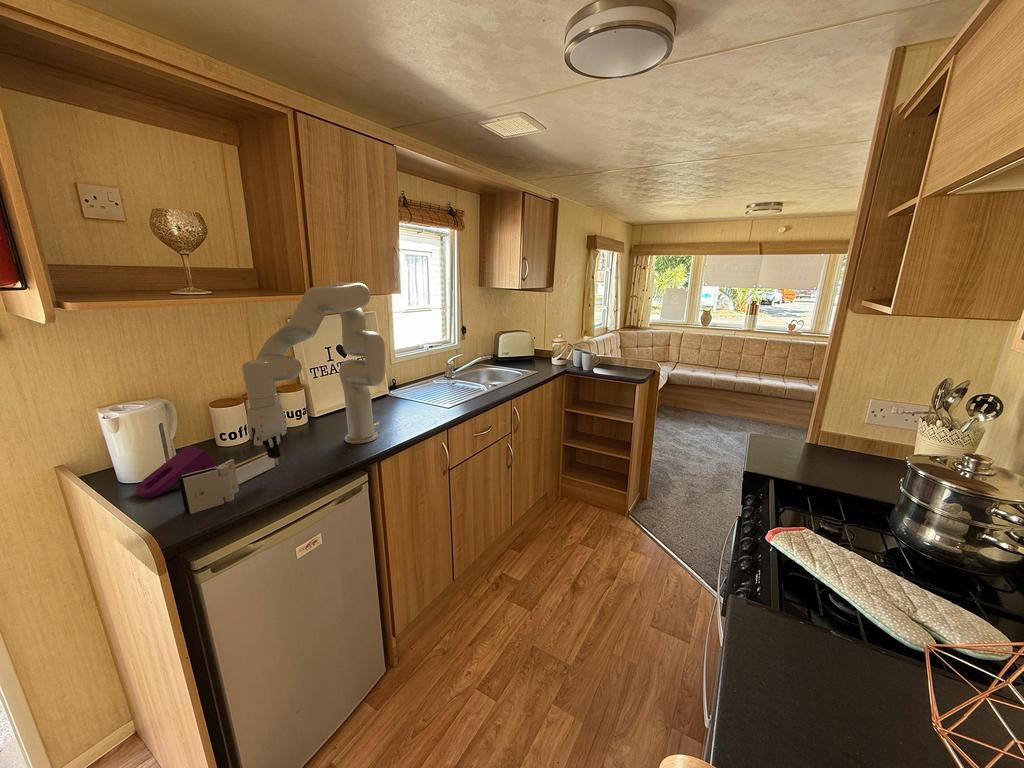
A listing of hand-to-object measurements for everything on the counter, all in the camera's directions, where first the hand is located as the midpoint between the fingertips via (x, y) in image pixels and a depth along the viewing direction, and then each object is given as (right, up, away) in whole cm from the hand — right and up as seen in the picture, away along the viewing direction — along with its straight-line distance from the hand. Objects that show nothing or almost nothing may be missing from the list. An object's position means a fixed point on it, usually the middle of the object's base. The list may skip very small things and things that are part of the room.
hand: (274, 457), depth 127 cm
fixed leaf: (-9, -6, +4) cm, 12 cm away
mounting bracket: (-28, -9, -3) cm, 30 cm away
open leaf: (-8, -6, +2) cm, 10 cm away
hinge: (-9, -11, -13) cm, 19 cm away
